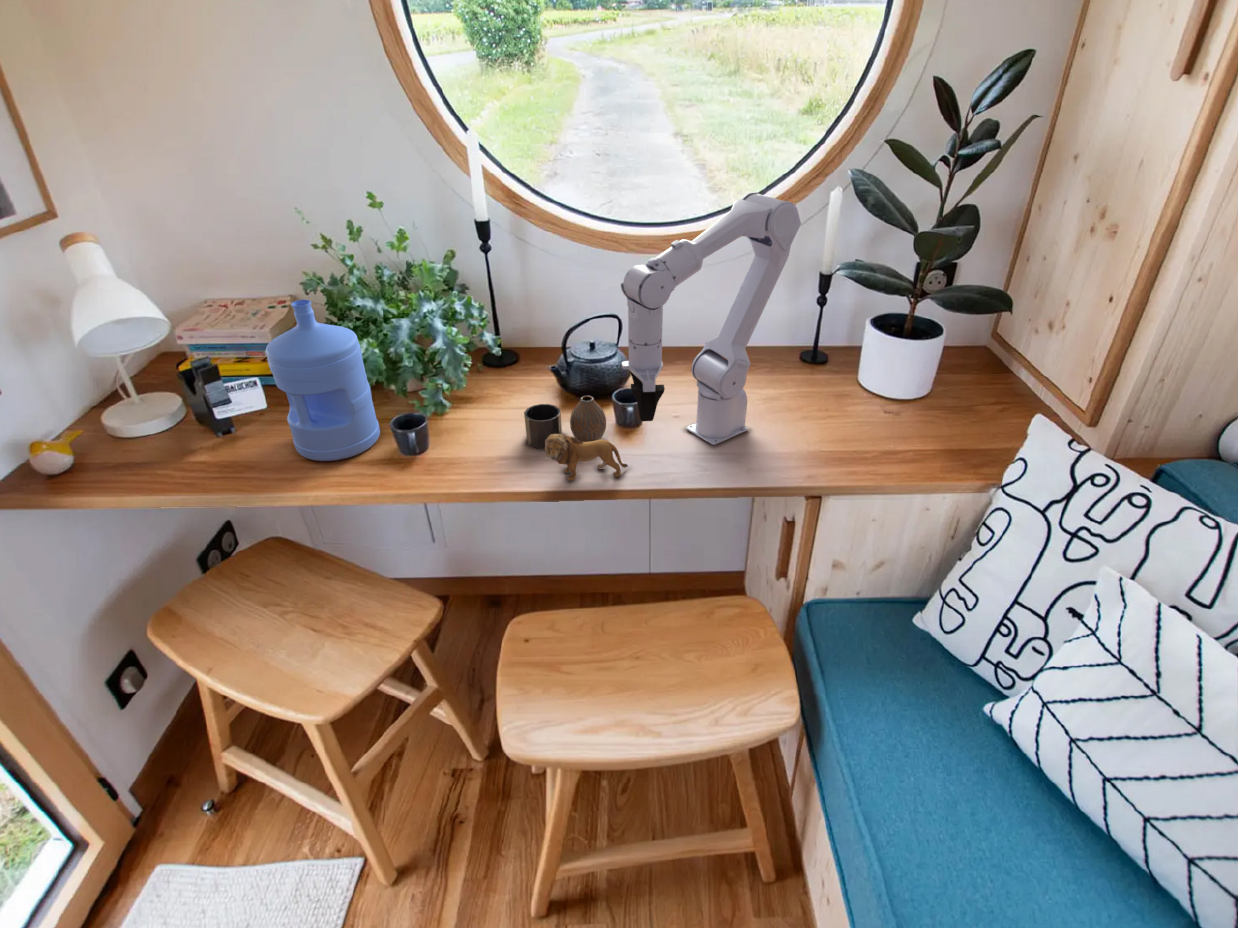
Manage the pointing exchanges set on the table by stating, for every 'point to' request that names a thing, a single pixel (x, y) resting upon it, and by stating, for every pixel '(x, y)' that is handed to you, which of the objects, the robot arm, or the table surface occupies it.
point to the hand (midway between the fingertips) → (644, 409)
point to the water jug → (323, 387)
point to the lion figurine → (581, 453)
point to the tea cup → (542, 424)
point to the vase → (587, 420)
